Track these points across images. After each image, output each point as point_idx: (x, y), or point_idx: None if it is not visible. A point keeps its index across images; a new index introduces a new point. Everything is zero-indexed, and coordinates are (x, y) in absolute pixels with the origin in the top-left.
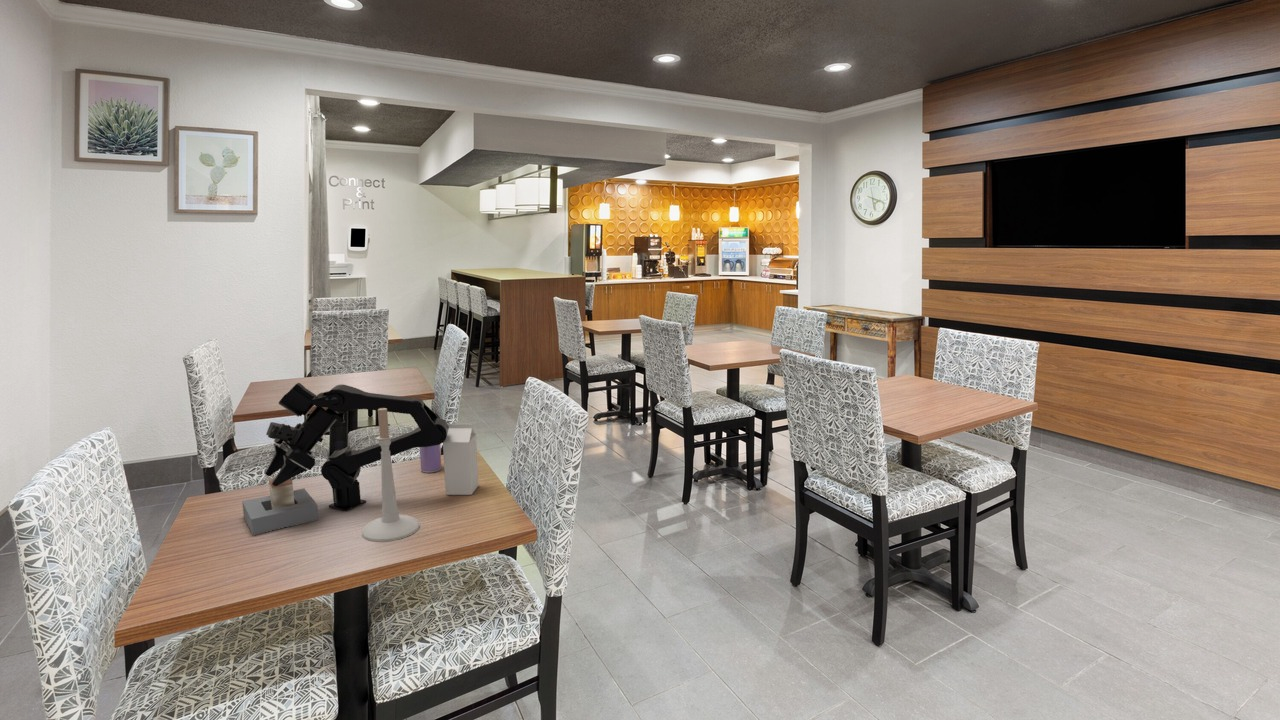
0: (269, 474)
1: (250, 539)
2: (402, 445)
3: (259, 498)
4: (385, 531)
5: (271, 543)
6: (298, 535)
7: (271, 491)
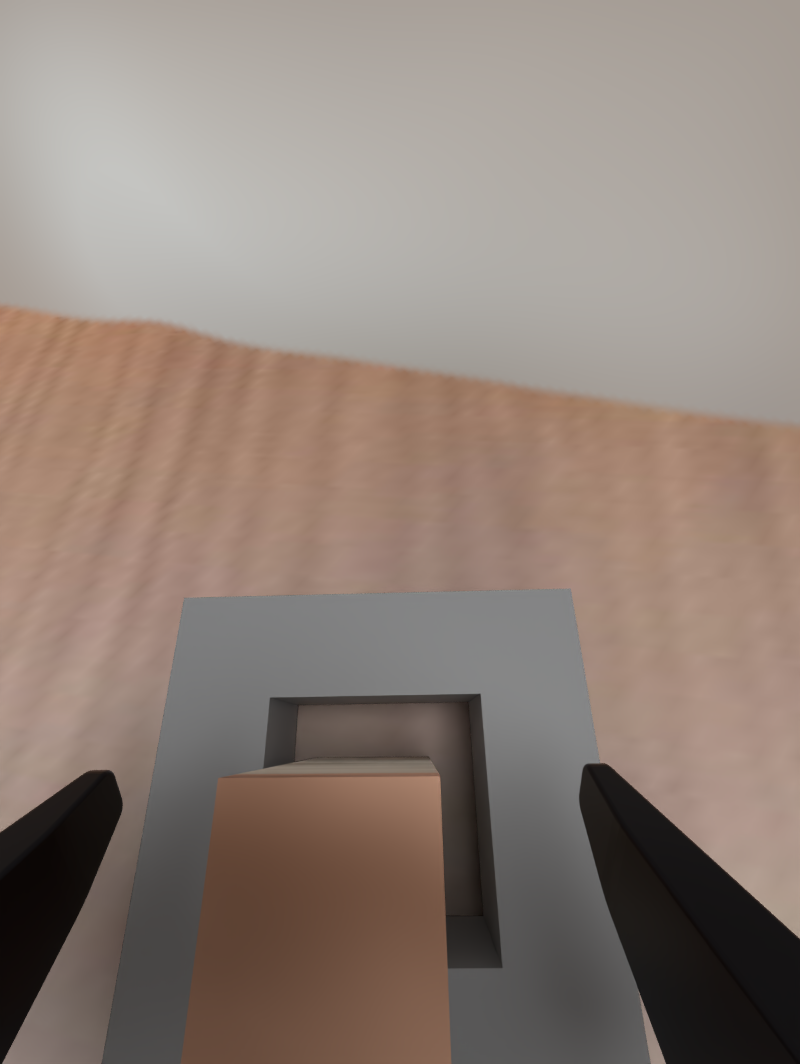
0: (584, 815)
1: None
2: None
3: (570, 697)
4: None
5: (49, 686)
6: None
7: (329, 769)
